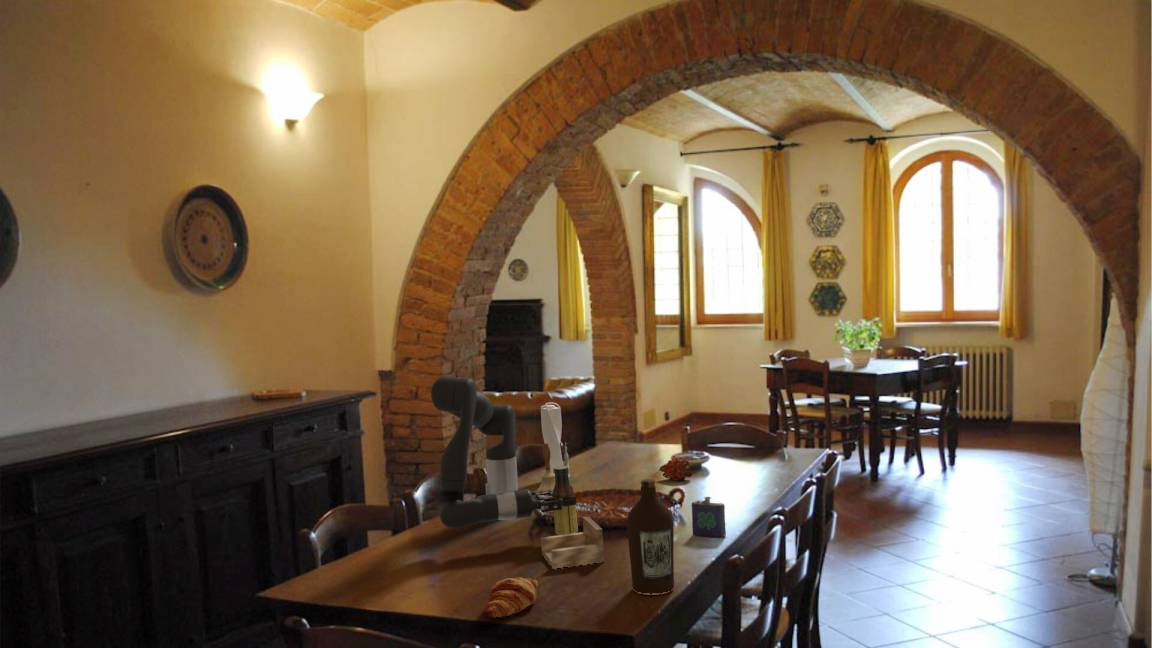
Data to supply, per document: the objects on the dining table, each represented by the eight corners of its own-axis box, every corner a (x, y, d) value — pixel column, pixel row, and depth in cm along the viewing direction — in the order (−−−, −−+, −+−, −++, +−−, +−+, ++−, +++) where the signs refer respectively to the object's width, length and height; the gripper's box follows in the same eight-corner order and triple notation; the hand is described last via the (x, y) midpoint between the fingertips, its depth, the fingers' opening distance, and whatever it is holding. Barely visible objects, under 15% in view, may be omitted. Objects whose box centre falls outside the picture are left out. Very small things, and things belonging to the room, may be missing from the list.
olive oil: (624, 584, 214) (618, 478, 213) (668, 578, 216) (662, 473, 215) (637, 600, 204) (631, 488, 202) (683, 593, 206) (677, 483, 205)
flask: (727, 536, 248) (725, 496, 247) (723, 539, 245) (721, 499, 245) (694, 533, 252) (692, 494, 251) (690, 536, 249) (688, 497, 249)
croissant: (525, 603, 215) (509, 572, 216) (558, 587, 212) (542, 555, 213) (480, 637, 196) (463, 602, 197) (516, 619, 192) (499, 584, 193)
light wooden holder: (553, 569, 228) (551, 535, 227) (541, 554, 240) (540, 522, 240) (604, 562, 231) (602, 529, 231) (590, 548, 244) (588, 516, 243)
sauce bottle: (574, 533, 258) (570, 463, 257) (581, 539, 252) (577, 467, 251) (551, 537, 256) (547, 466, 255) (558, 543, 250) (554, 470, 249)
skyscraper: (562, 482, 321) (558, 402, 319) (540, 482, 323) (536, 403, 322) (570, 477, 329) (566, 399, 327) (549, 476, 331) (544, 399, 330)
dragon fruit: (696, 486, 312) (662, 489, 317) (698, 467, 318) (665, 470, 323) (688, 469, 307) (654, 473, 312) (690, 450, 314) (657, 454, 318)
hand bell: (543, 495, 305) (540, 447, 304) (533, 490, 312) (530, 443, 311) (566, 490, 309) (563, 443, 308) (555, 486, 316) (552, 440, 315)
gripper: (517, 497, 242) (578, 489, 247) (507, 485, 256) (565, 478, 261) (519, 525, 243) (580, 517, 247) (508, 512, 257) (567, 505, 261)
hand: (572, 497), depth 254 cm, fingers closed on sauce bottle, 6 cm apart
